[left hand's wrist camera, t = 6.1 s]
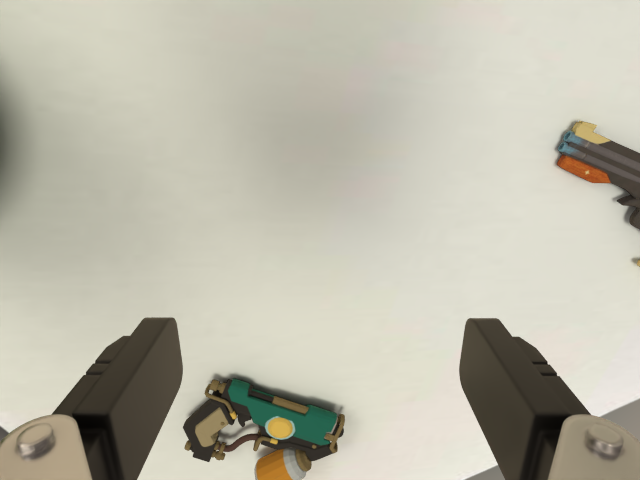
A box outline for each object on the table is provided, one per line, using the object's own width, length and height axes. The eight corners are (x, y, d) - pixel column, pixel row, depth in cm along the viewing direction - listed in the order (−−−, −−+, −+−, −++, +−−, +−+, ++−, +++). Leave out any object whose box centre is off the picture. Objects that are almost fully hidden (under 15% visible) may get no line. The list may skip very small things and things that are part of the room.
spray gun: (174, 424, 51) (241, 338, 47) (285, 490, 53) (356, 413, 49) (160, 451, 47) (232, 359, 43) (281, 521, 49) (359, 440, 45)
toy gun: (690, 291, 41) (776, 204, 36) (519, 219, 39) (586, 120, 35) (672, 277, 43) (750, 194, 39) (510, 208, 42) (572, 115, 38)
